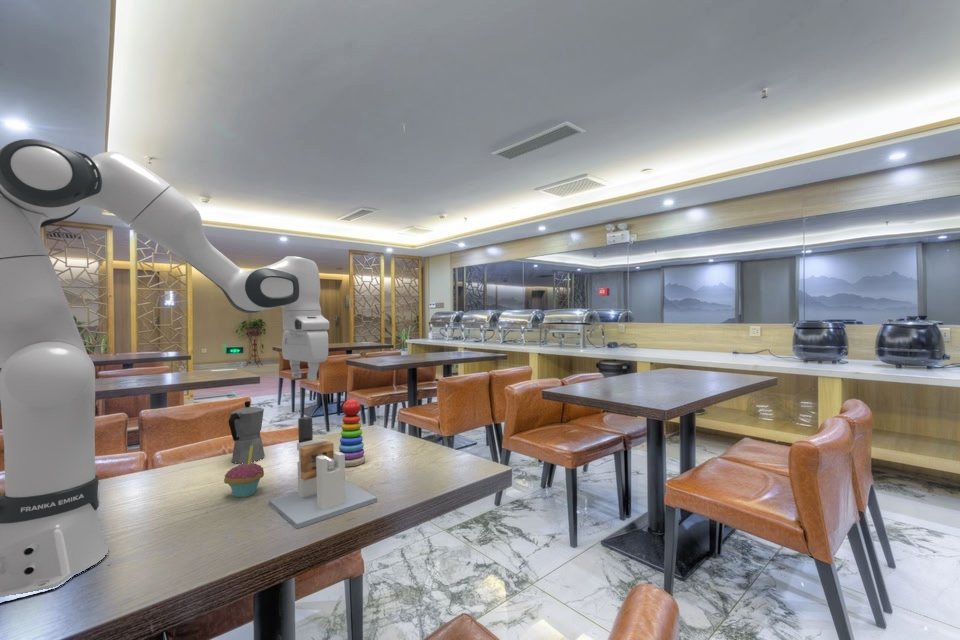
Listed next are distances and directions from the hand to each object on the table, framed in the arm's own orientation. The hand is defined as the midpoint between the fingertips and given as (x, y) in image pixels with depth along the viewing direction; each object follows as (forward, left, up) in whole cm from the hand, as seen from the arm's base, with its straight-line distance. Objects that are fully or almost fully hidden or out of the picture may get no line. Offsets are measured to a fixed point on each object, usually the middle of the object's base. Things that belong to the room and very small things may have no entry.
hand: (304, 379), depth 105 cm
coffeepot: (-3, +40, -28) cm, 48 cm away
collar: (0, -7, -22) cm, 23 cm away
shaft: (0, -7, -19) cm, 20 cm away
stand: (0, -9, -28) cm, 29 cm away
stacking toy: (+18, +13, -28) cm, 35 cm away
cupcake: (-11, +11, -28) cm, 32 cm away
